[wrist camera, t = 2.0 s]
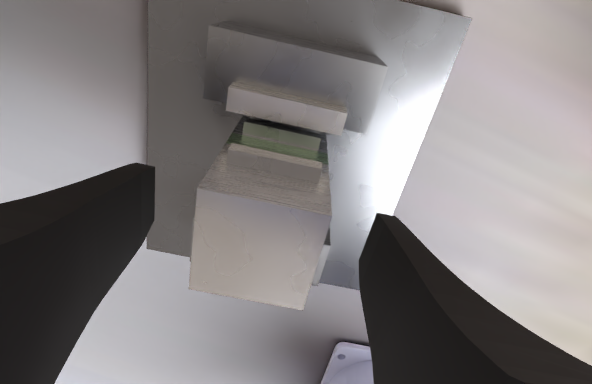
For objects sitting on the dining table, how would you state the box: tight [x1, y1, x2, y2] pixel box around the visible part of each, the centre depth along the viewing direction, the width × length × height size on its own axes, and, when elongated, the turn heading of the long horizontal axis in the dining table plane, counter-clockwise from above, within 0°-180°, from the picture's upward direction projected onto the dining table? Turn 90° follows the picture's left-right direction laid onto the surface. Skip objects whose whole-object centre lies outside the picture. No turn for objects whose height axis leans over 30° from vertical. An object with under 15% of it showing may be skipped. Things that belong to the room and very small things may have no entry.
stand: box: [147, 0, 472, 290], centre depth 15 cm, size 14×12×4 cm
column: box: [189, 115, 332, 311], centre depth 13 cm, size 4×4×7 cm
